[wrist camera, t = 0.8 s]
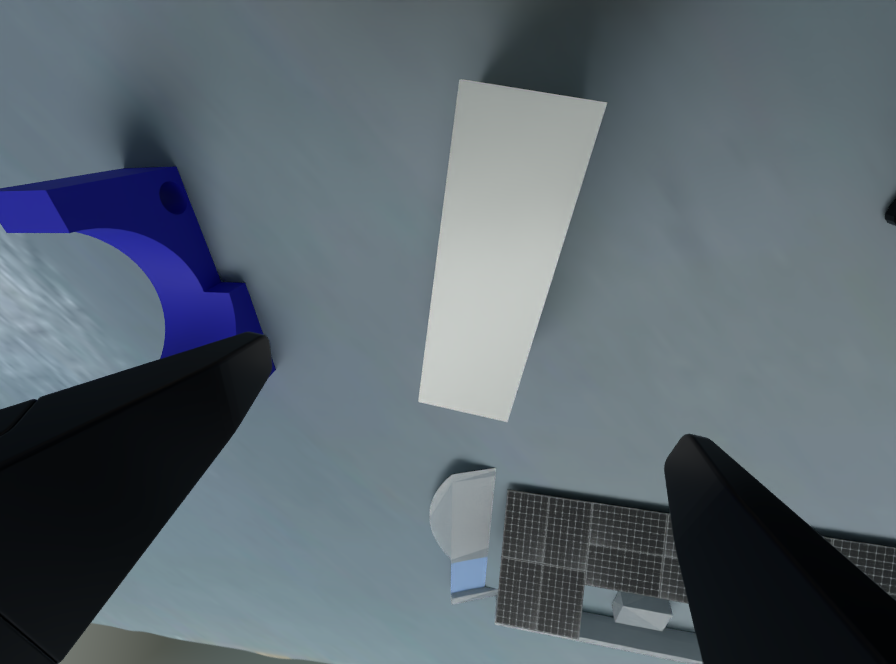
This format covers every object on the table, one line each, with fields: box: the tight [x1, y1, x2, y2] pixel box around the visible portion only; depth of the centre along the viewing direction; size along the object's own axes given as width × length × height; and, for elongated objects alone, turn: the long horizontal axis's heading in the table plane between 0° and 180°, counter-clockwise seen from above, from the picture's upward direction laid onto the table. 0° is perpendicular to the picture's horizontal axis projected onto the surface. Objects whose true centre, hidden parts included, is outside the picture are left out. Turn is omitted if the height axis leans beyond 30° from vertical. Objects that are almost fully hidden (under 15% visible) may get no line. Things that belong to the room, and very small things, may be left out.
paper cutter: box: [429, 468, 896, 664], centre depth 25 cm, size 18×45×6 cm, turn 90°
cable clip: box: [0, 167, 276, 378], centre depth 19 cm, size 12×4×6 cm, turn 3°
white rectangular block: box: [418, 79, 607, 422], centre depth 15 cm, size 4×12×5 cm, turn 173°
